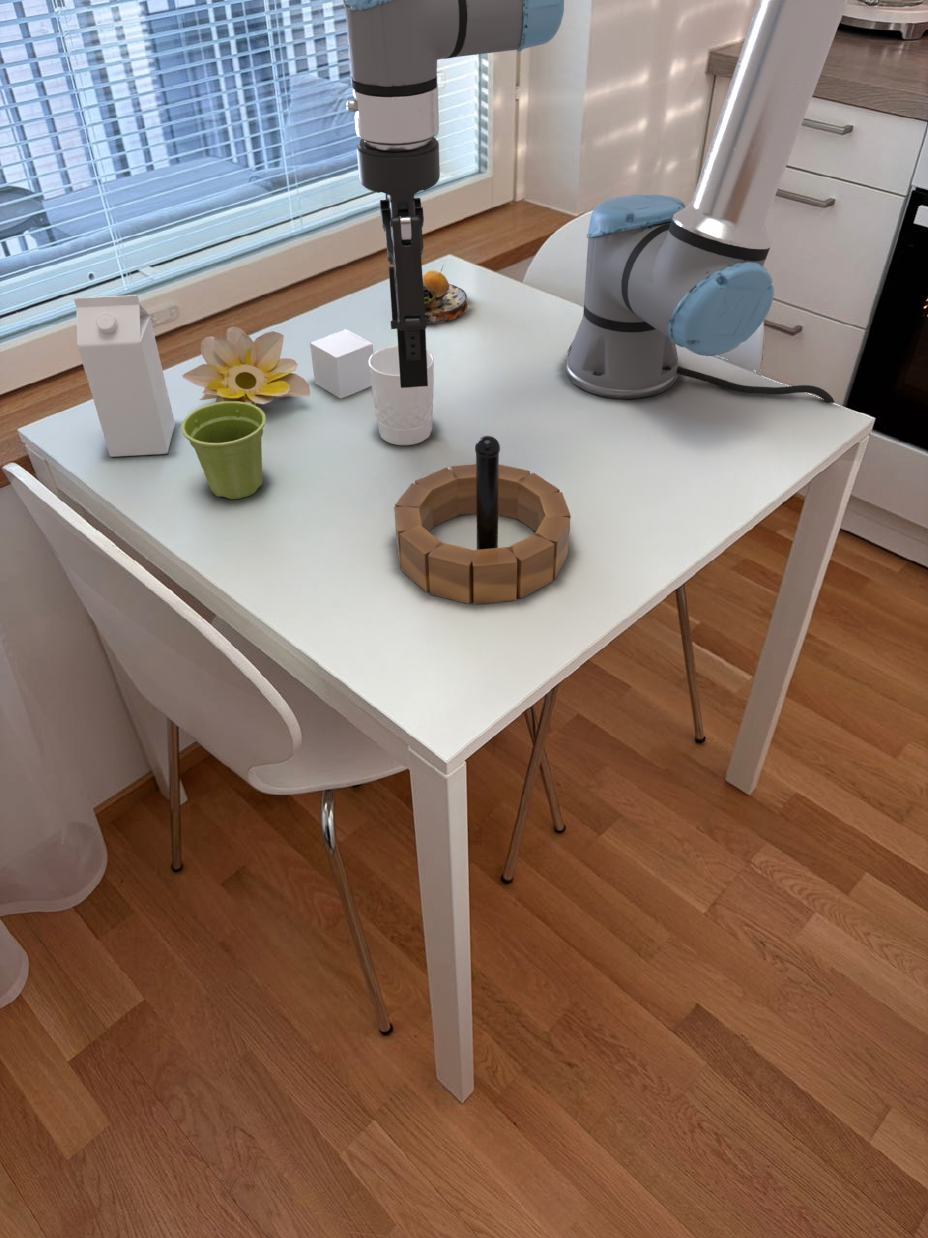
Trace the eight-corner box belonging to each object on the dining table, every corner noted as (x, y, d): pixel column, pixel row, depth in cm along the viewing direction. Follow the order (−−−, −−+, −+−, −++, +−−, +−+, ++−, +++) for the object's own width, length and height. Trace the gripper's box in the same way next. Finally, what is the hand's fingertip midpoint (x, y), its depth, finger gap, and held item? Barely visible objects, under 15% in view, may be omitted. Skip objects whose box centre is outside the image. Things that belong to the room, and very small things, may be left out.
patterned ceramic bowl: (435, 285, 160) (433, 239, 155) (483, 309, 153) (483, 261, 148) (375, 307, 154) (371, 259, 149) (422, 332, 147) (420, 283, 142)
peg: (501, 558, 106) (503, 426, 96) (506, 579, 104) (509, 445, 93) (468, 561, 106) (466, 429, 95) (472, 582, 103) (471, 449, 93)
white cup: (428, 451, 123) (425, 378, 116) (367, 445, 124) (360, 372, 117) (442, 419, 128) (440, 347, 122) (383, 413, 130) (378, 342, 123)
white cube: (376, 384, 136) (373, 343, 132) (340, 399, 133) (336, 357, 129) (349, 368, 139) (345, 328, 135) (314, 383, 136) (309, 342, 132)
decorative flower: (204, 432, 123) (189, 350, 119) (183, 412, 132) (168, 336, 128) (317, 410, 129) (307, 332, 124) (290, 392, 138) (279, 319, 133)
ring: (547, 494, 115) (549, 457, 112) (582, 593, 102) (585, 555, 99) (391, 508, 114) (388, 471, 110) (406, 611, 100) (403, 572, 97)
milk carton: (120, 428, 128) (80, 285, 115) (175, 425, 128) (142, 282, 116) (110, 458, 123) (67, 311, 110) (168, 454, 123) (132, 308, 110)
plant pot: (209, 517, 113) (194, 452, 107) (186, 476, 119) (171, 413, 113) (287, 495, 116) (276, 430, 110) (261, 456, 122) (250, 393, 117)
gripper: (352, 102, 99) (368, 305, 113) (360, 185, 81) (379, 416, 95) (426, 99, 100) (434, 301, 114) (452, 180, 81) (457, 410, 95)
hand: (409, 354), depth 104 cm, fingers open, 13 cm apart
